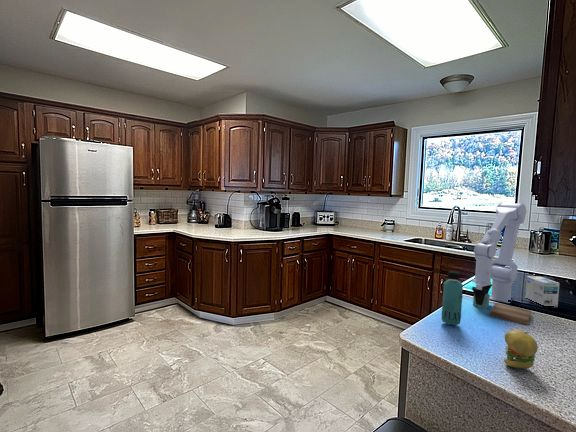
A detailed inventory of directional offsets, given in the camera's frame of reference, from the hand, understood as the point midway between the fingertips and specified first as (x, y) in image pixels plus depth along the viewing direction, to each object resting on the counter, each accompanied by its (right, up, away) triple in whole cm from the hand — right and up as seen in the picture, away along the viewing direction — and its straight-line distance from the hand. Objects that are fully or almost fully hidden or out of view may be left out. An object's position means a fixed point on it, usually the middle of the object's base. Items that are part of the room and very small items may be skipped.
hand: (481, 302), depth 136 cm
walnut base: (+5, -3, -11) cm, 12 cm away
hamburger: (-19, -6, -48) cm, 52 cm away
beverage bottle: (-24, -3, -20) cm, 31 cm away
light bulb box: (+29, -2, +5) cm, 30 cm away
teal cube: (0, -2, 0) cm, 2 cm away
